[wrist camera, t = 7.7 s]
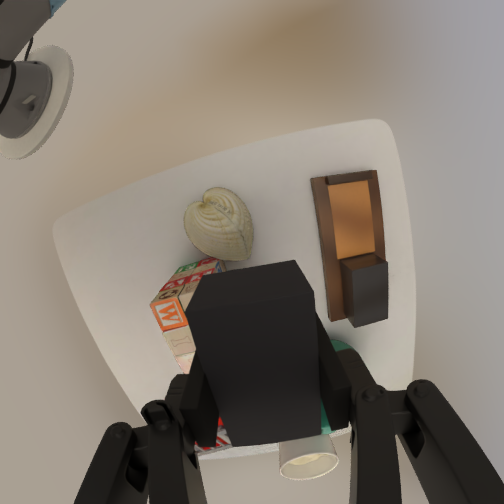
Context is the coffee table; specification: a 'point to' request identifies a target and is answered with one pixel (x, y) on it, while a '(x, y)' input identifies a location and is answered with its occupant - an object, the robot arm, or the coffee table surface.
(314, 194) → the brown wooden tray
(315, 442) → the candle holder
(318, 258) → the coffee table surface
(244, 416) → the black block
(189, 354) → the stack of blocks
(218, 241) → the seashell
